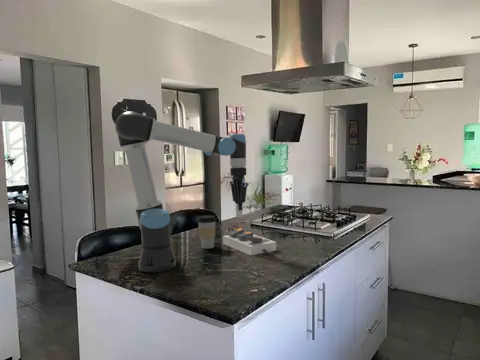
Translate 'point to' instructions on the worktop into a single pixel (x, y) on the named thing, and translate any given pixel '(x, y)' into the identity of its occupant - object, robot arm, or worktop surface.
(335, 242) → the worktop surface
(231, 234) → the rocker
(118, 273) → the worktop surface
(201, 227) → the coffee cup
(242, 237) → the rocker
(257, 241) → the rocker
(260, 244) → the power strip
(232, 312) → the worktop surface
